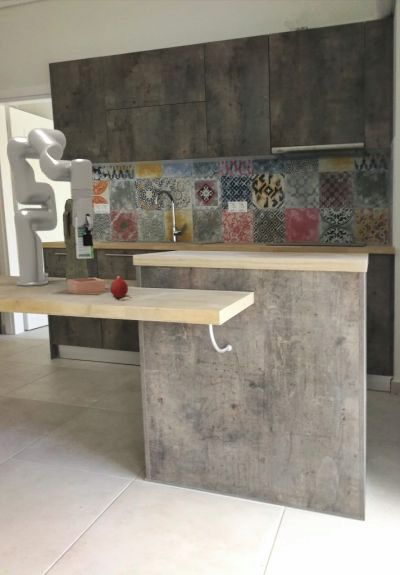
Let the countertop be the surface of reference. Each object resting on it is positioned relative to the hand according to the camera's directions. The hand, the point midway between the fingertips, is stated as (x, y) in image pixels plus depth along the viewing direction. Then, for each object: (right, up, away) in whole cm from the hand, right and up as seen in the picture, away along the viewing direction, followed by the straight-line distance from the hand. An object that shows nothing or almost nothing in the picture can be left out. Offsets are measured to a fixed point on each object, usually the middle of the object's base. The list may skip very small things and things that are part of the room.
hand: (84, 245), depth 192 cm
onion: (+14, -19, -10) cm, 26 cm away
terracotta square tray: (0, -16, +2) cm, 17 cm away
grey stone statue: (-8, -15, +23) cm, 29 cm away
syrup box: (0, -5, +1) cm, 5 cm away
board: (0, -18, +2) cm, 18 cm away
